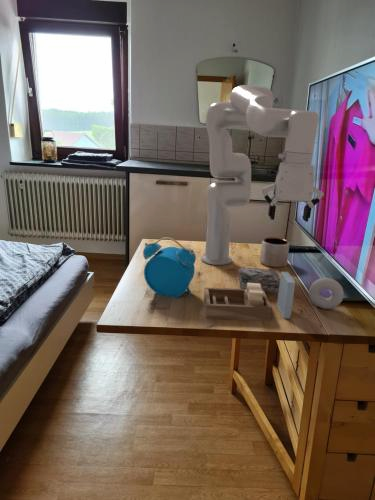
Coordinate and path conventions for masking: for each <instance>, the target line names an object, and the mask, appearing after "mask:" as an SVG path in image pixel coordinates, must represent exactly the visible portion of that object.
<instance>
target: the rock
mask: <svg viewBox="0 0 375 500" xmlns="http://www.w3.org/2000/svg"><path fill="white" fill-rule="evenodd" d="M237 272H238V274H239V275H238V280H239V281H238V283H239V284H238V285H239V286H238V287H239V289H247V283H260V285H261V288H262V290H264V292H265V294H267V293H268V294H275V295H278V293H279V285H280V277H279V274H278V272H277V270H276V269H274V268H273V267H269V268H268V269H267V270H266V269H264V268H263V269H262V268H258V267H240V268H238V269H237Z"/></svg>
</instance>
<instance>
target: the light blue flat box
mask: <svg viewBox="0 0 375 500" xmlns="http://www.w3.org/2000/svg"><path fill="white" fill-rule="evenodd" d="M279 278H280V285H279V293H278V294H277V303H276V306H277V309H278V311H279V313H280V314H281V317H282V318H283V319H291V315H292V310H293V304H294V303H293V302H294V294H295V288H296V282H295V280H294V279H293V277H292V275H291V274H290V273H289V271H281V272H280V277H279Z"/></svg>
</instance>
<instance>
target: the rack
mask: <svg viewBox="0 0 375 500" xmlns="http://www.w3.org/2000/svg"><path fill="white" fill-rule="evenodd" d="M245 290H247V289H241V288H231V287H230V288H229V287H227V288H226V287H204V295H203V296H204V297H203V300H204V301H203V303H204V310H205V311H204V312H205V319H210V320H211V319H212V320H213V319H215V320H236V321H237V320H240V321H242V320H243V321H263V322H265V321H267V322H269V321H271V317H272V311H273V310H272V309H273V307H272V305H271V303H270V301H269V299H268V297H267V295H266V294H267V293H265V292H264V290H262V292H263V297H262V298H263V300H264V306H256V305H244V291H245Z"/></svg>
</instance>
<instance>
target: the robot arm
mask: <svg viewBox="0 0 375 500" xmlns="http://www.w3.org/2000/svg"><path fill="white" fill-rule="evenodd" d="M273 104H274V95H273V91H271V89H270V88H269V87H266V86H260V85H259V86H258V85H252V84H251V85H250V84H241V85H240V84H239V85H238V86H236V87H234V88H233V89H232V91H231V93H230V95H229V102H228V101H218V102H214V103H212V104H210V106H209V107H208V108H207V110H206V115H205V125H206V127H205V128H206V130H207V134H208V135H207V136H208V141H209V172H210V176H212V177H213V178H215V179H234V181H216V182H213V183H211V184H209V185H208V186H207V188H206V193H205V195H206V196H205V197H206V205H207V217H206V218H207V219H206V221H207V222H206V233H205V234H206V235H205V238H206V239H205V253H203V254H202V255H201V256H200V260H201V261H202V262H203V263H205V264H209V265H213V266H226V265H227V266H228V265H229V264H231V263H232V262H233V257H232V256H230V243H231V230H232V215H231V214H230V212H229V211H228V208H229V207H233V208H234V207H244V206H246V205H247V204H249V203H250V200H251V195H252V164H251V160H250V158H249V156H248V155H247V154H245V153H240V152H234V151H233V139H232V136H231V135H230V133H229V131H228V130H227V129H226V128H236V129H237V128H238V129H248V128H249V129H250V130H251V131H252V132H253V133H256V134H258V135H260V136H261V137H267V138H268V137H269V138H270V137H271V138H285V143H284V144H285V145H284V150H283V152H281V153H278V157H277V158H278V159H281V160H282V162H280V163H279V166H278V170H277V173H276V177H275V181H274V183H272V184H270V185H267V186H264V187H263V188H261V194H262V196H263V198H264V199H265V200H266V202H267V203H268V204H269V205H268V213H267V216H268V217H269V219H270V220H271V221H272V220H273V221H274V220H275V217H276V215H275V214H276V209H277V207H276V204H277V203H278V202H279V201H282V202H284V201H285V202H296V203H297V202H299V203H300V202H302V203H305V204H306V205H304V207H303V214H302V220H304V222H307V223H308V222H309V219H311V216H312V215H311V214H312V209H313V208H315V206H316V205H317V204H318V203H319V202H320V200H321V199H322V197H323V196H324V195H325V193H324V192H323V191H322V190H320V189H319V188H317V187H315V165H313V164H312V163H313V157H314V149H315V144H316V137H317V132H318V126H319V125H318V124H319V114H318V113H319V112H316V111H312V110H297V109H288V108H275V107H273V106H274V105H273ZM270 191H273V196H272V197H270V195H269V192H270ZM314 193H315V194H316V195H315V196H314V198H313V195H314Z"/></svg>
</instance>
